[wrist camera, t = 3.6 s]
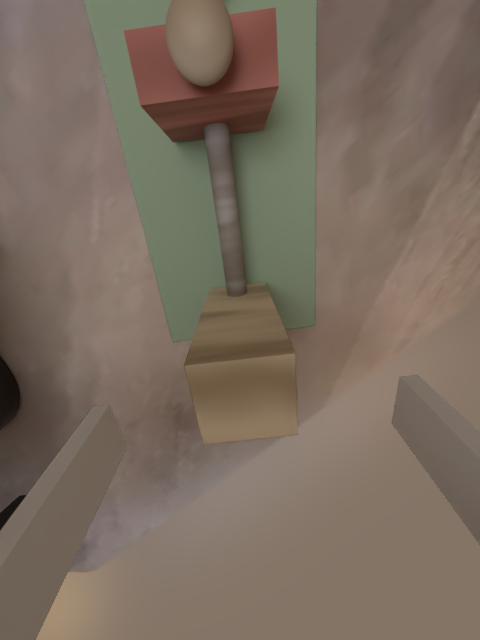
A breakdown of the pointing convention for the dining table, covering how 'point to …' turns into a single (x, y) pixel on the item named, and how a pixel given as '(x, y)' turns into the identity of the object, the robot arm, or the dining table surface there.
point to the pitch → (248, 163)
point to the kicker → (223, 206)
